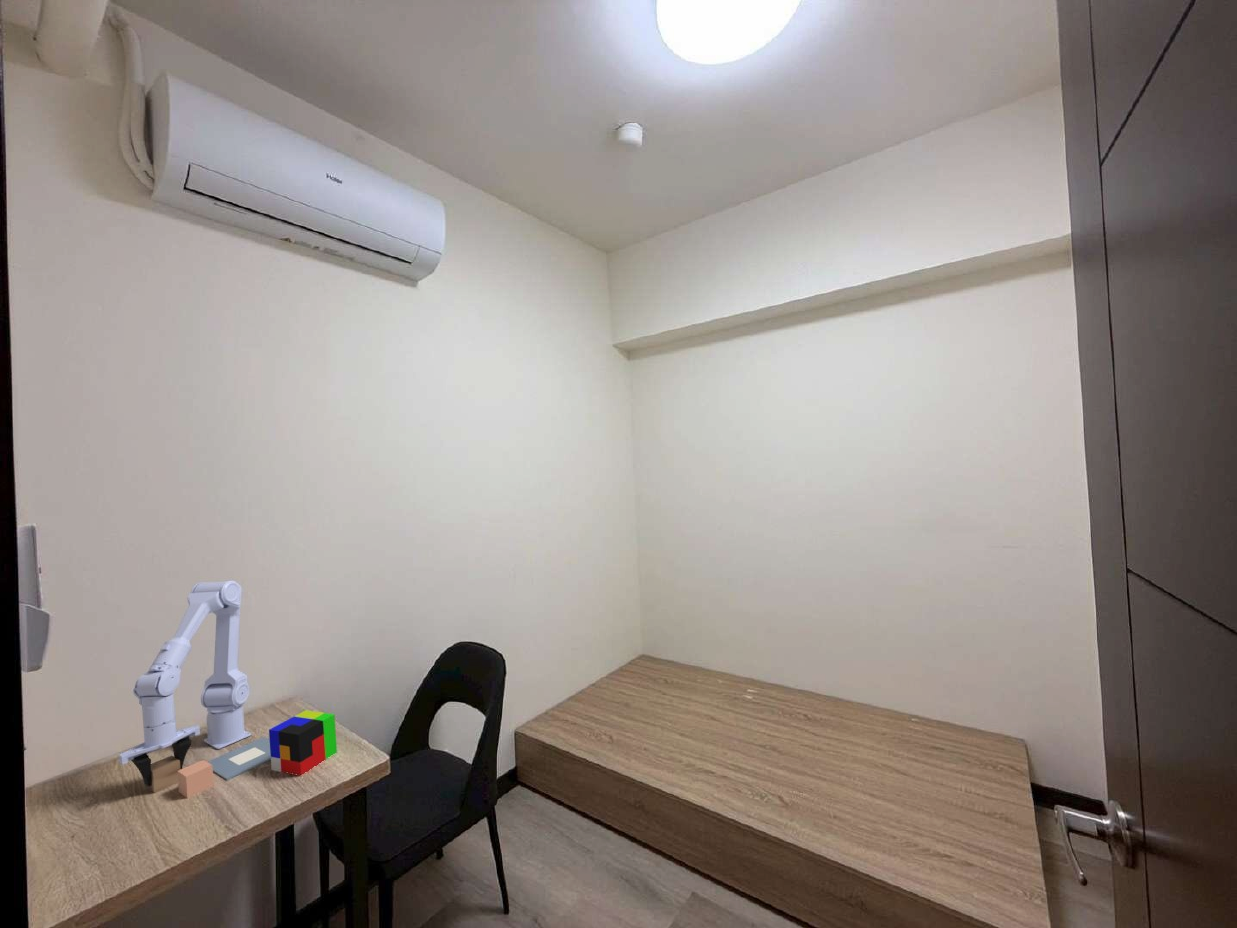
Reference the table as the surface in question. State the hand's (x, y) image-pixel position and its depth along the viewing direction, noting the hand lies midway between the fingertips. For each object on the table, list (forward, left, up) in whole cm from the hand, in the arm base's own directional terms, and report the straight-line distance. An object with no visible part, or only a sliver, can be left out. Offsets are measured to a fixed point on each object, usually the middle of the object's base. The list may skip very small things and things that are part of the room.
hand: (163, 778), depth 124 cm
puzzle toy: (+22, +21, -2) cm, 31 cm away
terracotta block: (+10, +3, -2) cm, 11 cm away
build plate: (+6, +15, -1) cm, 16 cm away
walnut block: (0, 0, -1) cm, 1 cm away
